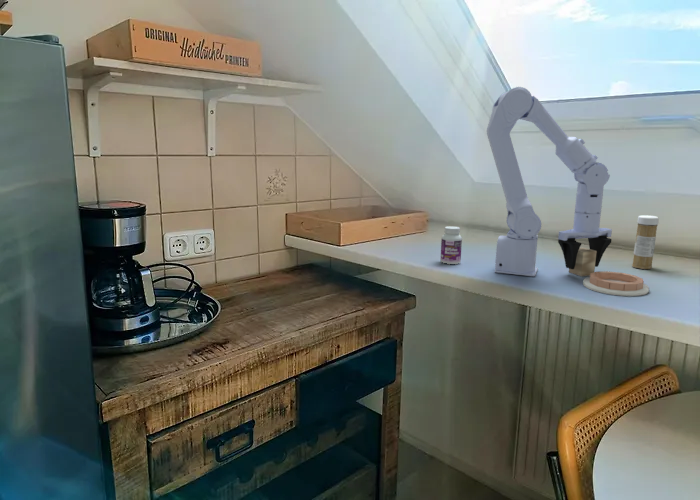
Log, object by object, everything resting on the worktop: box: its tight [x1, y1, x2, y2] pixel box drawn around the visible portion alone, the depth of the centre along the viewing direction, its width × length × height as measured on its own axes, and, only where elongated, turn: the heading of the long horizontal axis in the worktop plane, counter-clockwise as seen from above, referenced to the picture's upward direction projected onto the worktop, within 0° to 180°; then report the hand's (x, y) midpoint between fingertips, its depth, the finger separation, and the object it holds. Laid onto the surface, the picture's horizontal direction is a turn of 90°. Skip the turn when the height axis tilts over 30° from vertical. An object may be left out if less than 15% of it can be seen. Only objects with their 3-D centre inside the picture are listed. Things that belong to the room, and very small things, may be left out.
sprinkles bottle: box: [631, 214, 660, 270], centre depth 125 cm, size 5×5×14 cm
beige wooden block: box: [568, 247, 597, 277], centre depth 121 cm, size 4×4×6 cm
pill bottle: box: [440, 225, 463, 265], centre depth 131 cm, size 5×5×10 cm
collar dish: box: [582, 270, 650, 297], centre depth 109 cm, size 13×13×2 cm
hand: (581, 267), depth 121 cm, fingers open, 7 cm apart
